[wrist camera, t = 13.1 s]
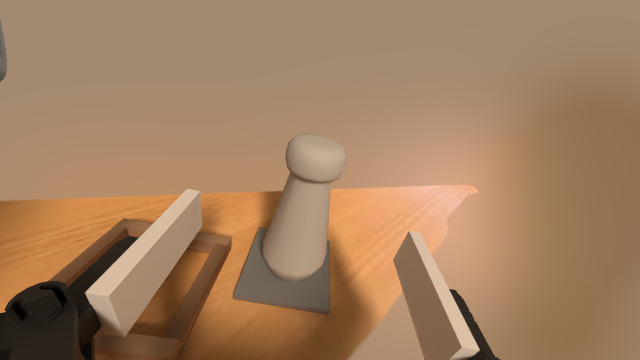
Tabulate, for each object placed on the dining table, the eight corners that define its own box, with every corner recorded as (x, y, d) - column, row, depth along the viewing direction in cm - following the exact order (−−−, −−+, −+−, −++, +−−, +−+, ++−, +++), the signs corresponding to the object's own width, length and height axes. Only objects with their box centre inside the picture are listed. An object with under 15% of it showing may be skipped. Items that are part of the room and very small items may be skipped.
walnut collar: (-2, 346, 14) (-15, 333, 13) (127, 230, 22) (123, 218, 22) (172, 369, 14) (169, 358, 14) (231, 248, 23) (231, 237, 22)
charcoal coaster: (233, 298, 19) (233, 294, 19) (258, 231, 26) (259, 227, 26) (327, 314, 20) (329, 310, 19) (328, 244, 26) (329, 240, 26)
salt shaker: (261, 241, 24) (276, 120, 17) (314, 242, 25) (346, 130, 19) (259, 294, 19) (279, 153, 13) (325, 291, 21) (373, 164, 14)
